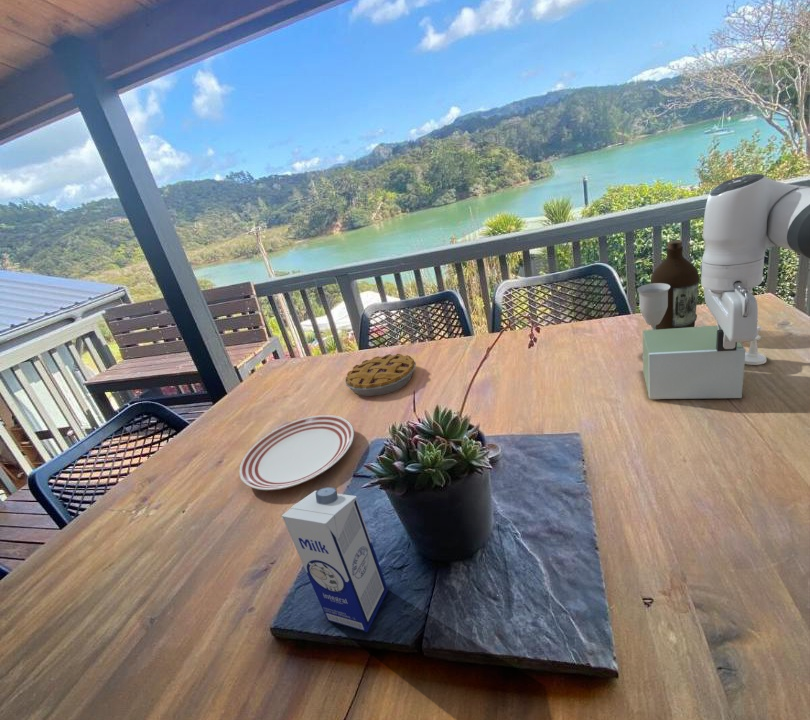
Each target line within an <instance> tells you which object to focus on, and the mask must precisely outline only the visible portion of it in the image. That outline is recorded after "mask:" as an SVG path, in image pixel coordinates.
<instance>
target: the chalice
mask: <svg viewBox="0 0 810 720" xmlns="http://www.w3.org/2000/svg"><path fill="white" fill-rule="evenodd" d="M669 288H670V285H668V284H664V283H652V284H650V283H647V284H643V285H640V286H639V287H637V288H636V291H637V293H638V295H639V297H638V298H639V311H640V314H641V316H642V318H643V320H644V321H645V323H646V324H647V325H648V326H650V327H651V329H650V330H656V325H658V324H660V322H661V320H662V318H663V317H664V315H665V312H666V310H667V307H668V290H669ZM641 358H642V359H643V355H642V356H641Z"/></svg>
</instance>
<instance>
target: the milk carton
mask: <svg viewBox="0 0 810 720" xmlns="http://www.w3.org/2000/svg"><path fill="white" fill-rule="evenodd" d="M281 518H282V520H283V522H284V524H285V526H286V529H287V531H288V533H289V536H290V538H291V540H292V542H293V545H294V547H295V550H296V552H297V554H298V556H299V559H300V561H301V563H302V565H303V568H304V571H305V572H306V575H307V577H308V579H309V582H310V584H311V586H312V589H313V592H314V593H315V595H316V598H317V600H318V603H319V604H320V607H321V609H322V611H323V614H324V616H325V618H326V620H327V621H328V622H332V623H335V624H338V625H342V626H345V627H349V628H352V629H356V630H359V631H362V632H365V633H368V632H369V630H370V629H371V626H372V624H373V622H374V620H375V618H376V616H377V614H378V612H379V609H380V607H381V605H382V604H383V601H384V599H385V597H386V595H387V593H388V591H389V589H388V586H387V584H386V580H385V577H384V574H383V572H382V568H381V566H380V562H379V560H378V557H377V553H376V551H375V548H374V545H373V542H372V539H371V536H370V533H369V530H368V528H367V524H366V522H365V519H364V515H363V512H362V510H361V507H360V504H359V502H358V498H357V495H352V494H344V493H338V490H337V488H336V487H333V486H327V487H322V488H320V489H318V490H314V491H312V492H311V493H310V494H307V496H305V497H303V498H302V499H300V500H299V501H297V502H296V503H295V504H293V505H292V506H290V508H288V509H287V510H286V511H285V512H284V513H282V515H281Z"/></svg>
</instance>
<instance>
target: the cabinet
mask: <svg viewBox="0 0 810 720" xmlns="http://www.w3.org/2000/svg"><path fill="white" fill-rule="evenodd" d="M717 330H718V325H717V324H716V325H703V326H695V327H687V328H672V329H658V330H651V329H645V330H642V356H643V358H642V372H643V377H644V381H645V386H646V391H647V395H648V397H649V353H656V352H676V351H696V350H716V338H717ZM737 348H744V345H742V342H737ZM737 348H736V349H737Z"/></svg>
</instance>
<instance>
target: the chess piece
mask: <svg viewBox="0 0 810 720" xmlns="http://www.w3.org/2000/svg"><path fill="white" fill-rule="evenodd" d="M758 322H759V320H757V323H758ZM761 329H762V326H760V325H758V324H757V336H756V338H755V340H754V341H750V345H749V348H748V351H746V352H745V364H744V365H748V366H749V365H751V366H760V365H763V364H765V363H767V361H768V360H767V356H766V355H764V354H762V353H760V352H759V349H758V340H760V339H761V335H759V333H760V331H761Z"/></svg>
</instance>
